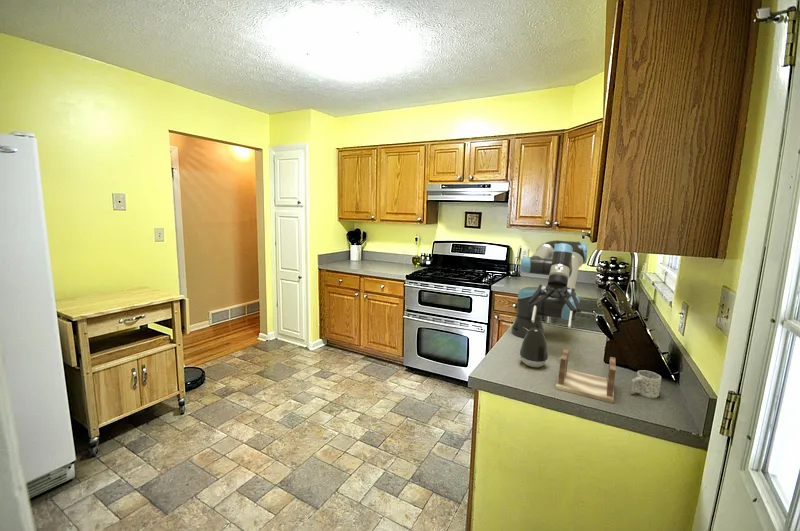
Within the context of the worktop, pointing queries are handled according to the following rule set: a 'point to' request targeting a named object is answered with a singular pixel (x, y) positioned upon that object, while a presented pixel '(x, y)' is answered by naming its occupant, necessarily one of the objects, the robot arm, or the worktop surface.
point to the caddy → (586, 381)
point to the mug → (646, 384)
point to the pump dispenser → (534, 348)
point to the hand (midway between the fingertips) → (550, 324)
